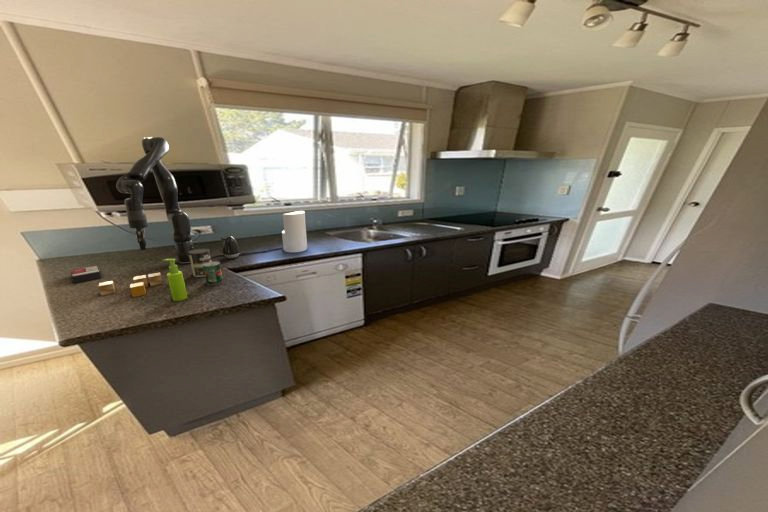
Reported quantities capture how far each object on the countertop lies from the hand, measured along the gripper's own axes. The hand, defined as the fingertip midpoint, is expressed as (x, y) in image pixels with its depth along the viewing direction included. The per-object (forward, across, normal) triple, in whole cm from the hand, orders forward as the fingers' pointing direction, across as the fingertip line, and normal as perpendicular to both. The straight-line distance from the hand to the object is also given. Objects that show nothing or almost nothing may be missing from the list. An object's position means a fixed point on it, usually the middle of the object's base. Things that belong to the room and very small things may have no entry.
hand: (143, 247), depth 155 cm
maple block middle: (+18, -12, +3) cm, 21 cm away
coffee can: (+17, -10, -25) cm, 32 cm away
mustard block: (+18, -23, +4) cm, 29 cm away
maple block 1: (+18, -12, +16) cm, 27 cm away
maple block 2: (+17, -12, -3) cm, 21 cm away
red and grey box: (+18, +21, +28) cm, 39 cm away
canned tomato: (+17, -28, -28) cm, 43 cm away
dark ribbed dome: (+16, +13, -44) cm, 49 cm away
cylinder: (+15, +8, -87) cm, 89 cm away
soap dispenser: (+18, -39, -12) cm, 45 cm away
